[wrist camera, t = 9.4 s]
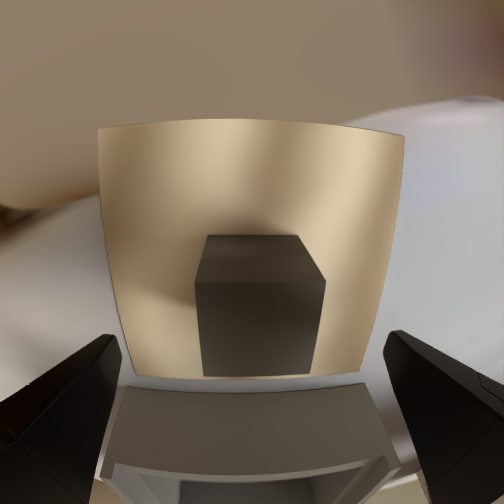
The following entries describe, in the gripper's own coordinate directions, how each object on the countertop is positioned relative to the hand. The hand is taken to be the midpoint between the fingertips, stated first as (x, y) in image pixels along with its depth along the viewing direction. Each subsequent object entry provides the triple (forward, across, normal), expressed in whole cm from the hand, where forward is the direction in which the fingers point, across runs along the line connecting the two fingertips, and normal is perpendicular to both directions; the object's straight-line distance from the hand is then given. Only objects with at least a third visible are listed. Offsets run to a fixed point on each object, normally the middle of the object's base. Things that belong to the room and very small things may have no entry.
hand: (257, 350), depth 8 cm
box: (+6, 0, +16) cm, 17 cm away
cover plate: (+6, 0, 0) cm, 6 cm away
